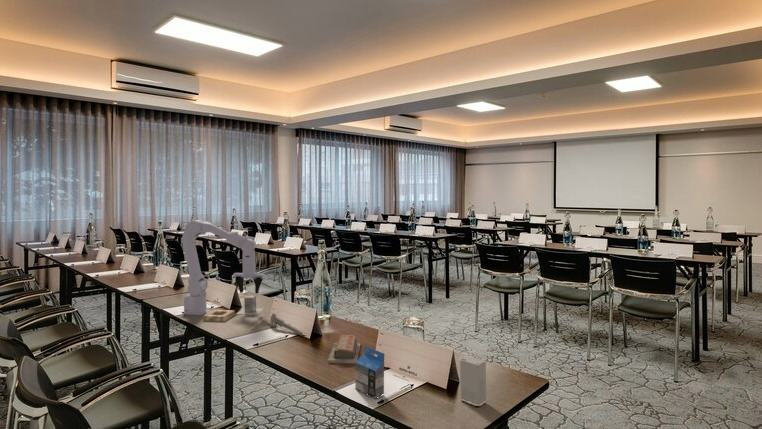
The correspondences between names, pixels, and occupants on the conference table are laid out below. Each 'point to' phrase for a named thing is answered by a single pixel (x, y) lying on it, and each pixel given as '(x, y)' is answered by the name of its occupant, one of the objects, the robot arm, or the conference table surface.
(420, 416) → the conference table surface
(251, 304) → the key peg
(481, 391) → the skincare box
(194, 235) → the robot arm
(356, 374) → the label tape cartridge
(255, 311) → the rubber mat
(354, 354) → the packaged product
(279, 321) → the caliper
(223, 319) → the holder block
